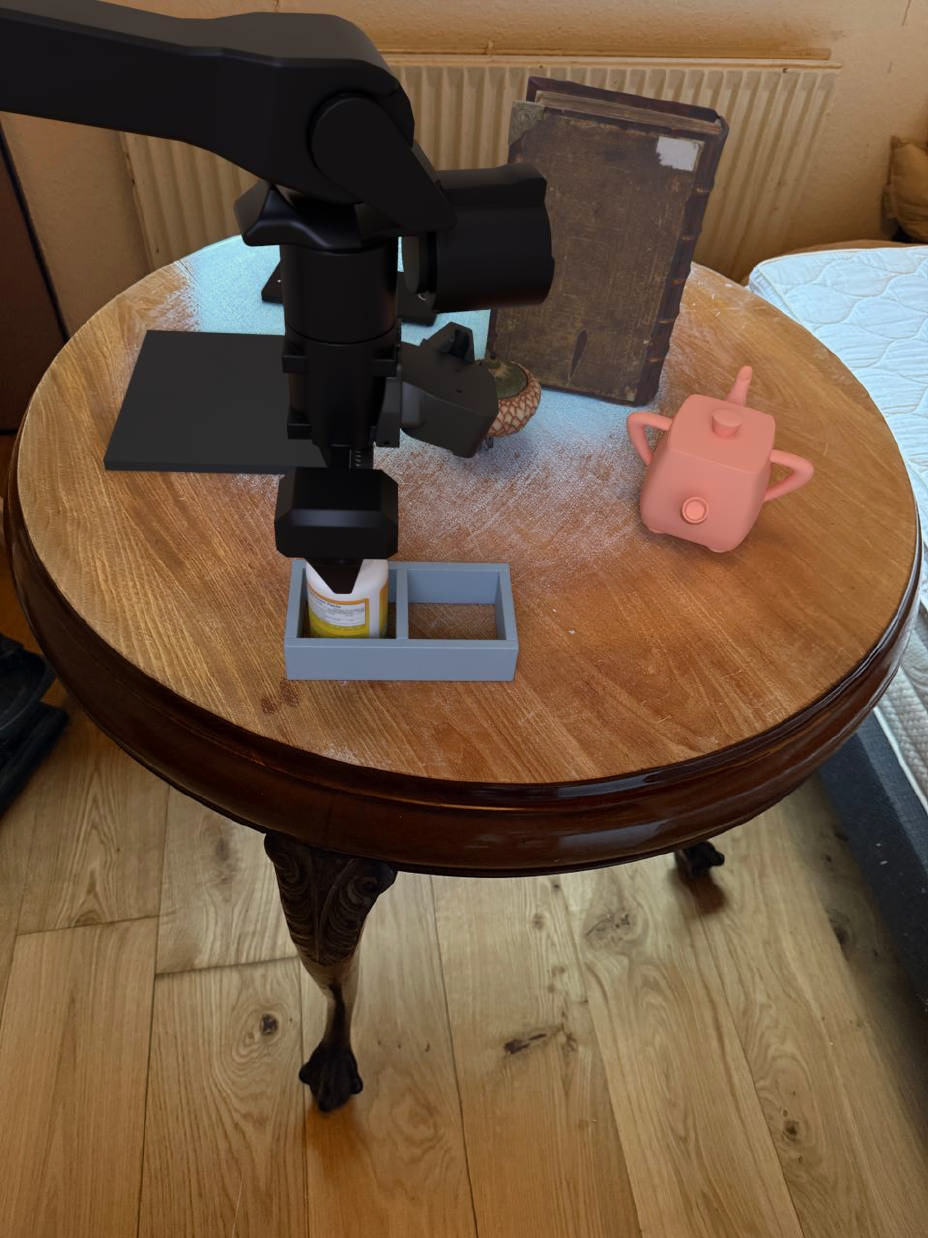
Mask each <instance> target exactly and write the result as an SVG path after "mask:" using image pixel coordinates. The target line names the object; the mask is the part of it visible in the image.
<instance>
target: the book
mask: <svg viewBox="0 0 928 1238" xmlns="http://www.w3.org/2000/svg"><path fill="white" fill-rule="evenodd" d="M512 101H513V102H512V107H511V110H510V118H509V126H508V127H509V129H508V139H507V145H508V153H507V161H506V164H510V163H524V162H532V163H533V165H534V166H535V167H536V168H537V170H538V171H539V172H540V173H541V174H542V176H543V177H544V178H545V179H546V181H547V188H546V195H545V202H544V203H545V205H546V209H547V213H548V217H549V222H550V229H551V241H552V256H553V257H554V259H555V270H554V277H553V281H552V285H551V289H550V291H549V294H548V297H547V298H546V300H545V301H544V302H543V303H542V304H541V305H539V306H529V307H517V308H505V309H493V310H489V317H488V325H487V326H488V327H487V334H486V335H487V336H486V344H485V348H484V354H483V359H488V358H490V356H491V355H490V354H491V352H492V351H493V350H496V354H497V357H496V358H499V359H504V360H510V361H513V362H516V363H519V364H520V365H521V366H523V367H524V368H526V369H527V370H529V371H530V372H531V373H532V375H533V376H534V377H535V378H536V379H537V380H538V382H539V384H540V386H541V389H543V390H548V391H549V390H550V391H557V392H563V393H567V394H572V395H579V396H584V397H588V398H592V399H597V400H600V401H601V402H605V403H609V404H614V405H619V406H624V407H629V408H630V407H632V408H636V407H639V406H645V405H647V404H649V403H650V402H652V401H653V400H654V399H655V397H656V396H657V394H658V391H659V389H660V379H661V375H662V371H663V368H664V363H665V360H666V357H667V356H668V353H669V351H670V349H671V342H670V340H671V337H672V334H673V331H674V327H675V323H676V320H677V318H678V316H679V315H680V311H681V308H680V307H681V302H682V297H683V294H684V290H685V286H686V283H687V280H688V278H689V277H690V274H691V271H692V266H691V265H692V261H693V258H694V255H695V254H694V253H695V252H696V251H695V250H696V247H697V243H698V240H699V237H700V236H701V234H702V232H703V222H704V217H705V213H706V210H707V206H708V202H709V199H710V194H711V192H713V190H714V187H715V184H716V182H715V181H716V180H715V176H716V173H717V169H718V166H719V163H720V160H721V157H722V153H723V151H724V147H725V144H726V142H727V139H728V137H729V133H730V126H729V124H728V123H727V122H726V119H725V118H724V117H723V115H719V114H718V112H717V111H716V110H715V109H714V108H711V107H708V106H707V107H706V106H701V105H696V104H691V103H685V102H680V101H675V100H666V99H658V98H653V97H647V96H643V95H639V94H635V93H634V94H633V93H629V92H623V91H617V90H610V89H604V88H600V87H595V86H589V85H586V84H582V83H577V82H575V81H573V80H568V79H564V78H557V77H549V76H543V75H537V74H535V75H534V74H530V75H529V76H528V79H527V85H526V92H525V100H523V99H514V100H512Z"/></svg>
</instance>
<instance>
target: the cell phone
mask: <svg viewBox="0 0 928 1238" xmlns="http://www.w3.org/2000/svg"><path fill="white" fill-rule="evenodd" d="M260 296H261V301H263V302H266V303H275V304H282V305H283V294H282V280H281V266H280V260H279V262H278V263H277V265H276V266H275V268H274V269H273V271H272V272H271V274H270V276H269V278H268V279H267V281H266V282H265V284H264V286H263V287H262V288H261V291H260ZM437 315H438V314H435V313H433V312H432V311H431V310H430V308H429V306H428V304H427V302H426V299H425V296H424V294H420V295H412V294H411V293H410V291H409V289H408V287H407V284H406V280H405V276H404V271H402V270H398V285H397V319H402V323H408V324H409V323H410V324H417V325H423V326H428V327H431V326H433V325H434V324H435V321H436V318H437Z"/></svg>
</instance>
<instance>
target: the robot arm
mask: <svg viewBox="0 0 928 1238" xmlns="http://www.w3.org/2000/svg"><path fill="white" fill-rule="evenodd" d="M0 112H4V113H9V114H15V115H20V116H27V117H33V118H38V119H45V120H50V121H57V122H62V123H69V124H74V125H80V126H86V127H93V128H98V129H103V130H110V131H116V132H122V133H126V134H127V133H129V134H134V135H139V136H146V137H151V138H156V139H157V138H158V139H163V140H169V141H174V142H175V141H176V142H180V143H185V144H187V145H190V146H192V147H196V148H198V149H202V150H204V151H207V152H210V153H212V154H215V155H217V156H218V157H220V158H222V159H223V160H225V161H227V162H230V163H231V164H232V165H234V166H237V167H239V168H241V169H242V170H244V171H247V172H248V173H250V174H251V175H253V176H256V177H257V178H258V179H257V181H256V183H255V184H254V185H253V186H252V187H250V188H249V189H247V190H246V191H244V192H243V194H242V195H240V196H239V197H238V198H236V199H235V200H234V203H233V204H232V205H233V207H232V208H233V212H234V216H235V218H236V222H237V226H238V228H239V233H240V236H241V239H242V242H243V244H244V245H246V246H247V247H250V248H251V247H252V248H257V247H274V246H278V250H279V261H280V266H281V280H282V294H283V304H282V307H283V323H284V334H283V335H284V342H283V349H282V355H281V356H282V369H283V373H288V381H289V395H290V402H289V410H288V417H287V435H288V439H297V440H312V444H313V445H315V446H318V447H319V450H320V452H321V454H322V457H323V459H324V461H325V463H326V466H327V468H325V467H295V468H294V469H292V470H291V471H290V472H289V473H287V474H286V475H284V476H282V477H281V478H279V480H278V485H277V486H278V487H277V493H276V502H275V510H274V517H273V530H274V531H273V532H274V542H275V551H277V552H278V553H279V554H280V555H282V556H284V557H285V558H287V559H289V558H290V559H303V560H306V561H307V562H308V563H309V564H310V566H311V567H312V568H313V569H314V570H315V571H316V573H317V574H318V575H319V576H320V577H321V579H322V580H323V581H324V582H325V583H326V585H327V586H328V587H329V588H330V589H331V591H332V592H333V593H335V594H351V593H352V592H353V589H354V586H355V583H356V580H357V577H358V574H359V572H360V569H361V566H362V563H363V560H364V559H377V560H387V561H388V560H389V559H390V558H392V557H393V556H395V555H396V554H398V552H399V527H400V526H399V525H400V523H399V521H400V520H399V519H400V517H399V515H400V513H399V511H400V510H399V507H400V506H399V482H397V480H395V479H394V478H393V477H392V476H390V475H389V474H388V473H387V472H386V471H384V470H383V469H382V468H374V463H375V462H374V461H375V460H374V459H375V458H374V457H375V456H374V455H375V446H376V447H377V448H384V449H400V446H401V431H402V432H403V434H405V435H406V436H408V437H409V438H411V439H414V440H417V441H419V442H423V443H426V444H429V445H431V446H435V447H437V448H441V449H444V450H446V451H450V452H451V453H452V455H453V456H455V457H458V458H460V459H473V458H474V457H475V456H476V455H477V453H478V449H479V448H480V446H481V444H482V442H483V440H484V439H485V437H486V435H487V433H488V432H489V430H490V428H491V426H492V425H493V423H494V421H495V419H496V418H497V416H498V414H499V404H498V396H497V389H496V381H495V378H494V376H493V375H492V374H491V373H490V372H489V371H488V366H487V362H486V361H483V360H481V361H480V363H479V365H477V364H475V360H476V355H475V354H476V352H475V341H474V332H473V331H474V330H473V329H472V328H470V327H468V326H465V325H463V324H460V323H458V322H455V321H448V323H446V324H445V325H444V326H442V327H441V328H440V329H438V330H437V331H436V332H434V333H433V334H432V335H431V336H429V337H428V338H422V339H421V342H420V343H419V345H418V344H414V343H411V342H408V341H404V340H402V332H403V330H402V329H403V325H402V324H403V322H402V319H397V285H398V271H399V245H400V250H401V251H400V252H401V253H400V254H401V263H402V270H403V271H402V272H404V276H405V280H406V284H407V287H408V289H409V291H410V293H411V294H412V295H420V294H424V296H425V299H426V302H427V304H428V306H429V308H430V310H431V311H432V312H433V313H435V314H437V315H442V314H454V313H455V314H457V313H466V312H477V311H479V312H481V311H490V310H493V309H505V308H517V307H529V306H539V305H541V304H542V303H543V302H544V301H545V300H546V298H547V297H548V294H549V291H550V289H551V285H552V281H553V277H554V270H555V259H554V257H553V256H552V241H551V229H550V222H549V217H548V213H547V209H546V205H545V203H544V202H545V195H546V188H547V181H546V179H545V178H544V177H543V176H542V174H541V173H540V172H539V171H538V170H537V168H536V167H535V166H534V165H533V163H532V162H524V163H510V164H507V163H505V164H502V165H499V166H496V167H483V168H461V169H438V170H437V169H436V168H435V167H434V165H433V164H432V162H431V161H430V158H428V156H427V155H426V153H425V151H424V150H423V148H422V147H421V145H420V143H419V142H418V140H417V139H415V129H416V128H415V127H416V121H415V117H414V112H413V108H412V103H411V100H410V98H409V96H408V94H407V93H406V91H405V89H404V88H403V85H402V84H401V82H400V80H399V79H398V78H397V76H396V75H395V73H394V72H393V70H392V68H391V67H390V66H389V65H388V63H387V61H386V60H385V59H384V57H383V56H382V54H381V53H380V52H379V49H378V48H377V47H376V45H375V44H374V43H373V41H372V40H371V38H370V37H369V36H368V35H367V34H366V32H365V31H364V30H362V29H361V28H360V27H359V26H357V25H356V23H354V22H352V21H351V20H348V19H346V18H343V17H341V16H339V15H336V14H329V13H318V12H317V13H315V12H314V13H313V12H311V13H310V12H281V11H252V12H251V11H250V12H245V13H238V14H233V15H226V16H220V17H212V18H199V17H198V18H197V17H196V18H195V17H192V18H191V17H176V16H171V15H168V14H162V13H158V12H153V11H149V10H144V9H141V8H140V9H139V8H135V7H131V6H126V5H121V4H118V3H117V4H116V3H114V2H113V3H112V2H108V1H104V0H0ZM399 243H400V244H399Z"/></svg>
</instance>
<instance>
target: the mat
mask: <svg viewBox="0 0 928 1238" xmlns="http://www.w3.org/2000/svg"><path fill="white" fill-rule="evenodd" d="M284 335H285V334H270V333H269V334H268V333H266V334H265V333H244V332H243V333H242V332H219V331H218V332H215V331H193V330H191V331H189V330H167V329H165V330H164V329H147V330H146V332H145V336H144V338H143V341H142V344H141V346H140V350H139V353H138V355H137V359H136V362H135V365H134V368H133V371H132V373H131V376H130V379H129V382H128V385H127V388H126V391H125V395H124V397H123V400H122V403H121V406H120V409H119V412H118V415H117V418H116V421H115V424H114V427H113V430H112V433H111V436H110V438H109V441H108V444H107V448H106V450H105V453H104V456H103V460H102V463H103V466H104V469H105V471H130V472H131V471H132V472H133V471H134V472H169V473H170V472H171V473H175V472H176V473H206V474H207V473H208V474H209V473H210V474H250V475H252V474H253V475H254V474H255V475H284V476H285V475H286V474H287V473H289V472H290V471H291V470H292V469H294V468H295V467H325V468H327V466H326V463H325V461H324V459H323V457H322V454H321V452H320V450H319V447H318V446H315V445H313V444H312V440H297V439H288V435H287V417H288V410H289V402H290V395H289V381H288V373H283V369H282V356H281V355H282V349H283V342H284Z"/></svg>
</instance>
